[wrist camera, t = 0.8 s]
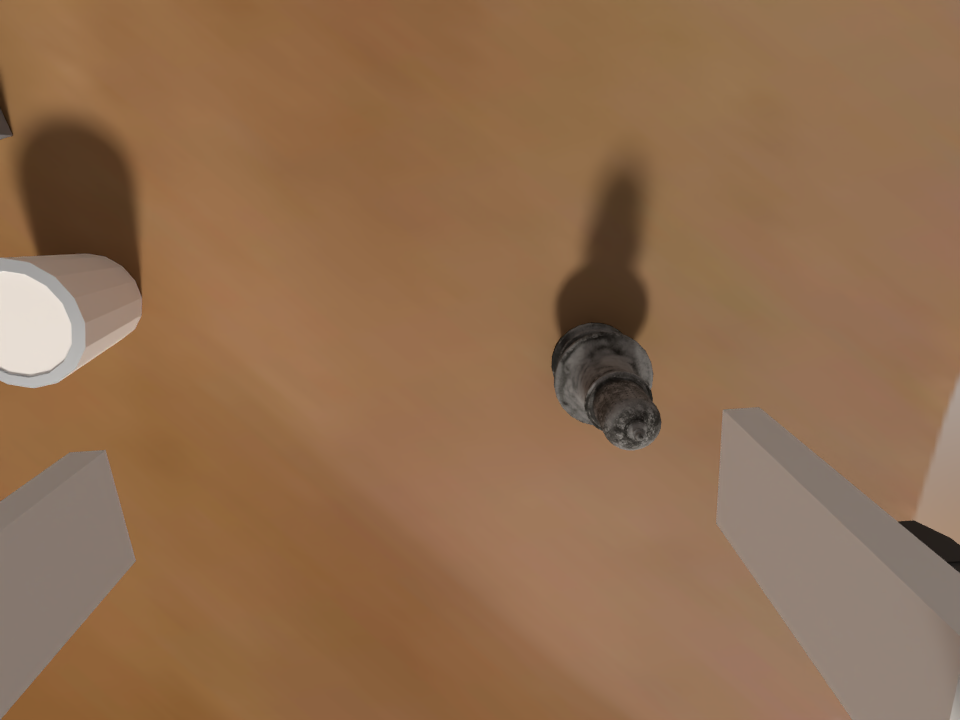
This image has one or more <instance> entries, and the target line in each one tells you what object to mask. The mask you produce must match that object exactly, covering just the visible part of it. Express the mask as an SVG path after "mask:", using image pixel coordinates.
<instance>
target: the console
mask: <svg viewBox="0 0 960 720" xmlns="http://www.w3.org/2000/svg"><path fill="white" fill-rule="evenodd" d="M10 136H13V135H12V133H11V131H10V128H9V126H8V124H7V122H6V120H5V117H4V115H3V113H2V111H1V109H0V139H3V138H7V137H10Z"/></svg>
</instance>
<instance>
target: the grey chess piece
mask: <svg viewBox="0 0 960 720" xmlns="http://www.w3.org/2000/svg"><path fill="white" fill-rule="evenodd" d="M552 371H553V375H554V387H555V392H556V396H557V398H558V400H559V402H560V404H561V406H562V407H563V409H564V410H565V411H566V412H567V413H568V414H569V415H570V416H572V417H573V418H575V419H577V420H579V421H580V422H583V423H587V424H590V425H594V426H595V427H596V428H598V429H600V430H602V431H603V432H604V434H605V436H606V438H607V439H608V440H609V441H610V442H611V443H612V444H613V445H615V446H617V447H618V448H620V449H624V450H637V449H642V448H644V447H646V446H648V445H649V444H650V443H652V442H653V441H654V440H655V438H656V437H657V436H658V434H659V431H660V429H661V418H660V413H659V411H658V409H657V407H656V406H655V404H654V403H653V402H652V401H653V398H652V393H651V387H652V381H653V370H652V365H651V361H650V359H649V357H648V355H647V353H646V351H645V350H644V349H643V348H642V347H641V346H640V345H639V344H638V343H637V342H636V341H635V340H633V339H631V338H630V337H628V336H626V335H623V334H622V333H621V332H620V331H618V330H617V329H615V328H613V327H612V326H610V325H606V324H602V323H587V324H583V325H579V326H577V327H575V328H573V329H571V330H570V331H568V332H567V333H566V334H565V335H564V336H563V337H562V338H561V339H560V341H559V342H558V344H557V345H556V347H555V350H554V353H553V356H552Z"/></svg>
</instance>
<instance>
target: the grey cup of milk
mask: <svg viewBox="0 0 960 720" xmlns="http://www.w3.org/2000/svg"><path fill="white" fill-rule="evenodd" d="M141 315H142V297H141V294H140V292H139V289H138V286H137V284H136V281H135V280H134V279H133V278H132V276H131V275H130V274H129V273H128V272H127V271H126V270H125V269H124V267H123V266H121V265H119V264H118V263H116V262H114V261H112V260H111V259H109V258H107V257H105V256H99V255H93V254H67V255H47V256H27V257H7V258H0V380H1V381H3V382H4V383H6V384H10V385H16V386H23V387H30V388H37V387H41V386H45V385H50V384H54V383H58V382H59V381H61V380H62V379H64V378H65V377H67V376H68V375H70V374H71V373H73V372H74V371H76V370H77V369H79V368H80V367H82V366H83V365H85V364H86V363H88V362H89V361H91V360H92V359H93V358H95V357H96V356H98V355H99V354H101V353H102V352H104V351H105V350H107V349H108V348H110V347H111V346H113V345H114V344H116V343H117V342H119V341H120V340H122V339H123V338H124V337H125V336H127V335H128V334H129V333H131V332H132V331H133V330H135V328H136V326H137V324H138V322H139V320H140V318H141Z"/></svg>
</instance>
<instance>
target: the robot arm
mask: <svg viewBox="0 0 960 720" xmlns="http://www.w3.org/2000/svg"><path fill="white" fill-rule="evenodd" d="M716 524H717V525H718V527H719V528H720V529H721V531H722V532H723V534H724V535H725V537H726V538H727V540H728V541H729V542H730V544H731V545H732V547H733V548H734V550H735V551H736V553H737V554H738V555H739V557H740V558H741V560H742V561H743V563H744V564H745V566H746V567H747V568H748V570H749V571H750V573H751V574H752V576H753V577H754V579H755V580H756V581H757V583H758V584H759V586H760V587H761V589H762V590H763V592H764V593H765V594H766V596H767V597H768V599H769V600H770V602H771V603H772V605H773V606H774V607H775V609H776V610H777V612H778V613H779V615H780V616H781V618H782V619H783V620H784V622H785V623H786V625H787V626H788V628H789V629H790V630H791V632H792V633H793V635H794V636H795V638H796V639H797V641H798V642H799V643H800V645H801V646H802V648H803V649H804V651H805V652H806V654H807V655H808V656H809V658H810V659H811V661H812V662H813V664H814V665H815V667H816V668H817V669H818V671H819V672H820V674H821V675H822V677H823V678H824V680H825V681H826V682H827V684H828V685H829V687H830V688H831V690H832V691H833V693H834V694H835V695H836V697H837V698H838V700H839V701H840V703H841V704H842V706H843V707H844V708H845V710H846V711H847V713H848V714H849V716H850V717H851V719H852V720H960V545H959V544H957V543H956V542H955V541H954V540H952V539H951V538H949V537H947V536H945V535H943V534H941V533H939V532H937V531H934V530H933V529H931V528H928V527H926V526H924V525H922V524H920V523H918V522H916V521H899V522H897V521H896V520H895V519H894V518H892V517H891V516H890V515H889V514H888V513H886V512H885V511H884V510H883V509H882V508H880V507H879V506H878V505H877V504H876V503H874V502H873V501H872V500H871V499H870V498H868V497H867V496H866V495H865V494H863V493H862V492H861V491H860V490H859V489H857V488H856V487H855V486H854V485H853V484H851V483H850V482H849V481H848V480H847V479H845V478H844V477H843V476H842V475H840V474H839V473H838V472H837V471H836V470H834V469H833V468H832V467H831V466H830V465H828V464H827V463H826V462H825V461H824V460H822V459H821V458H820V457H819V456H818V455H816V454H815V453H814V452H813V451H811V450H810V449H809V448H808V447H807V446H805V445H804V444H803V443H802V442H801V441H799V440H798V439H797V438H796V437H795V436H793V435H792V434H791V433H790V432H788V431H787V430H786V429H785V428H784V427H782V426H781V425H780V424H779V423H778V422H776V421H775V420H774V419H773V418H772V417H770V416H769V415H768V414H767V413H766V412H764V411H763V410H762V409H761V408H759V407H756V408H741V409H726V410H723V418H722V435H721V452H720V469H719V486H718V503H717V520H716ZM135 561H136V560H135V556H134V553H133V549H132V545H131V542H130V538H129V534H128V531H127V527H126V524H125V520H124V516H123V513H122V509H121V505H120V502H119V498H118V494H117V491H116V487H115V483H114V480H113V476H112V472H111V469H110V465H109V461H108V458H107V454H106V450H101V451H86V452H71V453H68V454H67V455H65V456H64V457H63V458H61V459H60V460H58V461H57V462H56V463H54V464H53V465H51V466H50V467H49V468H47V469H46V470H44V471H43V472H41V473H40V474H39V475H37V476H36V477H34V478H33V479H32V480H30V481H29V482H27V483H26V484H25V485H23V486H22V487H20V488H19V489H17V490H16V491H15V492H13V493H12V494H10V495H9V496H8V497H6V498H5V499H3V500H2V501H1V502H0V719H1V718H2V717H3V716H4V715H5V714H6V712H7V711H8V710H9V709H10V708H11V707H12V705H13V704H14V703H15V702H16V701H17V700H18V698H19V697H20V696H21V695H22V694H23V693H24V691H25V690H26V689H27V688H28V687H29V685H30V684H31V683H32V682H33V681H34V680H35V678H36V677H37V676H38V675H39V674H40V673H41V671H42V670H43V669H44V668H45V667H46V666H47V664H48V663H49V662H50V661H51V660H52V659H53V657H54V656H55V655H56V654H57V653H58V651H59V650H60V649H61V648H62V647H63V646H64V644H65V643H66V642H67V641H68V640H69V639H70V637H71V636H72V635H73V634H74V633H75V632H76V630H77V629H78V628H79V627H80V626H81V625H82V623H83V622H84V621H85V620H86V619H87V617H88V616H89V615H90V614H91V613H92V612H93V610H94V609H95V608H96V607H97V606H98V605H99V603H100V602H101V601H102V600H103V599H104V598H105V596H106V595H107V594H108V593H109V592H110V591H111V589H112V588H113V587H114V586H115V585H116V583H117V582H118V581H119V580H120V579H121V578H122V576H123V575H124V574H125V573H126V572H127V571H128V569H129V568H130V567H131V566H132V565H133V564H134V562H135Z"/></svg>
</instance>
